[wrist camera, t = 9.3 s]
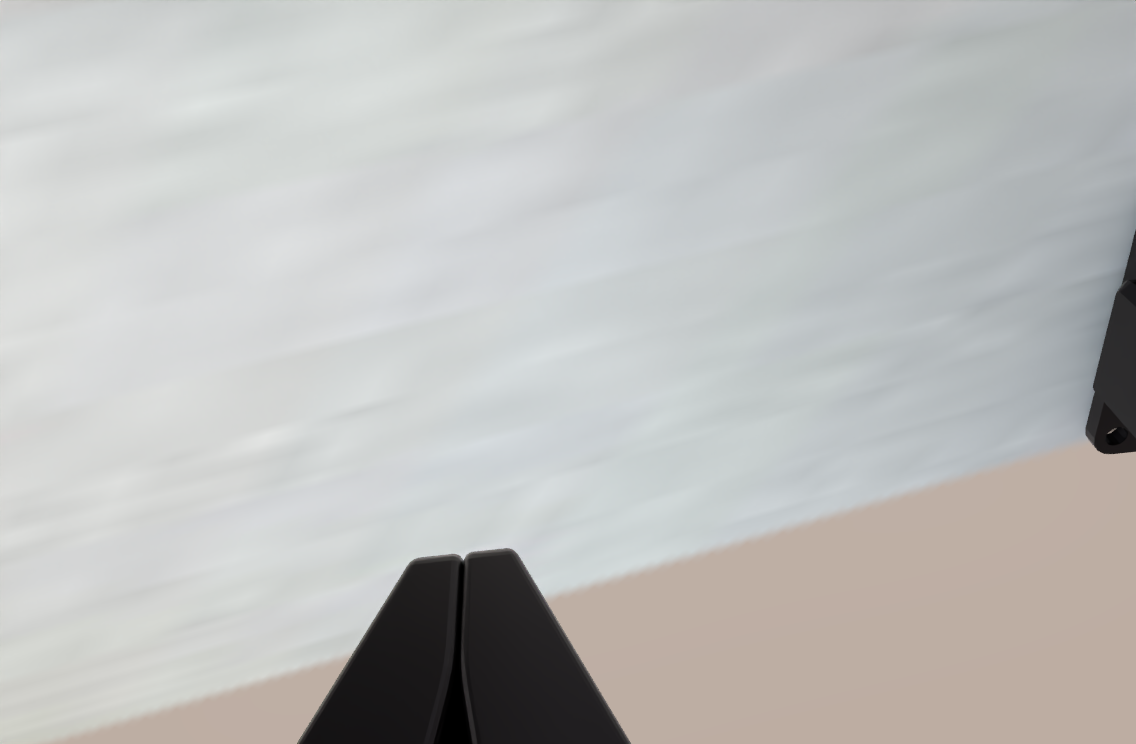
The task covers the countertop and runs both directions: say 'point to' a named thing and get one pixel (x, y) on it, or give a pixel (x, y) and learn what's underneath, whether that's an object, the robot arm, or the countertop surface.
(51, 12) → the countertop surface
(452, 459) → the countertop surface
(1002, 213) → the countertop surface
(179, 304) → the countertop surface
